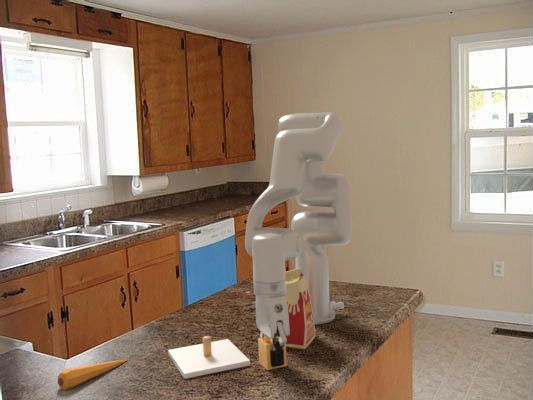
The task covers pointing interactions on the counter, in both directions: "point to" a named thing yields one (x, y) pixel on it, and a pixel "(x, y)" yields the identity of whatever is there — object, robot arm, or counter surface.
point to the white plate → (207, 358)
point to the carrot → (84, 373)
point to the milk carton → (299, 310)
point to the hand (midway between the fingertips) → (272, 360)
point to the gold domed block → (268, 352)
